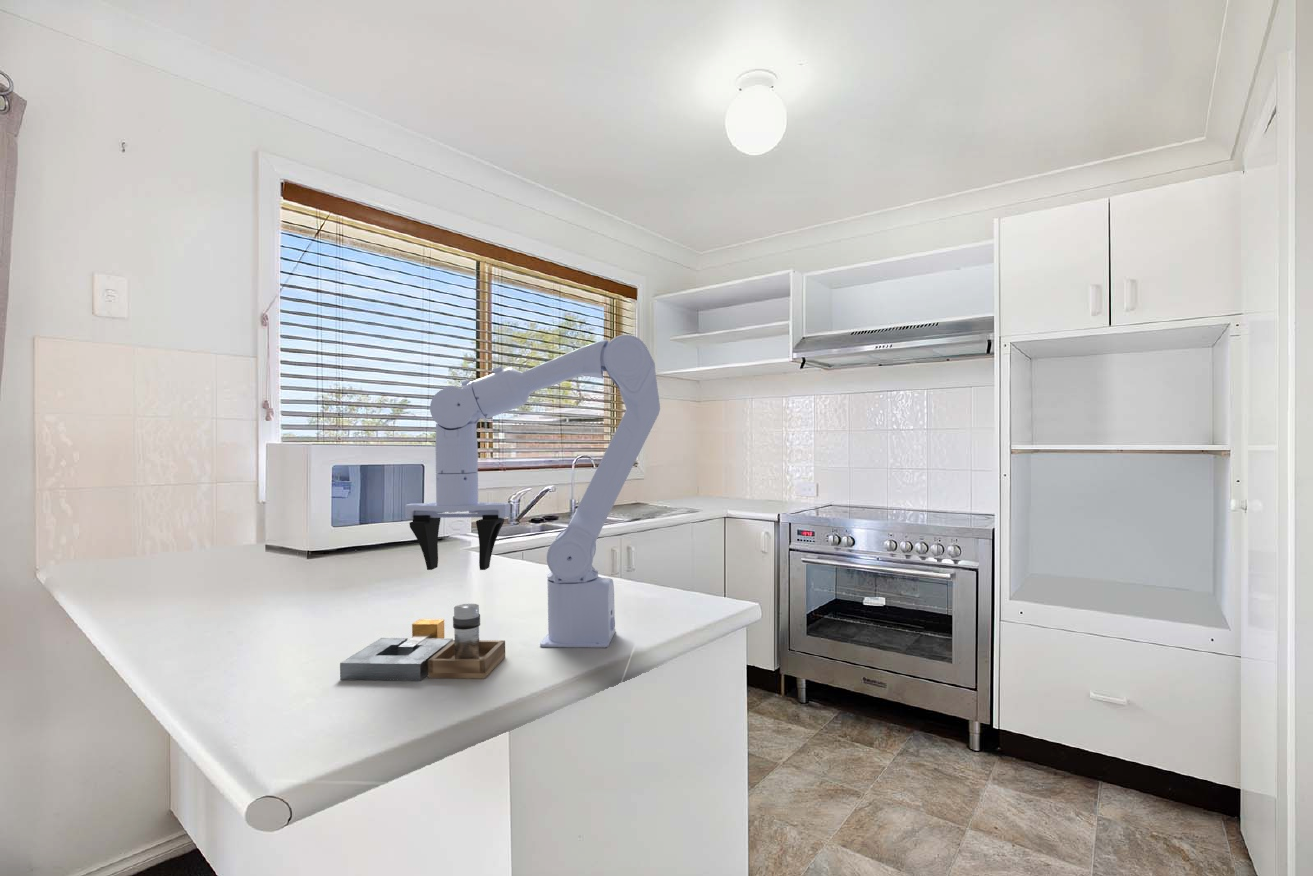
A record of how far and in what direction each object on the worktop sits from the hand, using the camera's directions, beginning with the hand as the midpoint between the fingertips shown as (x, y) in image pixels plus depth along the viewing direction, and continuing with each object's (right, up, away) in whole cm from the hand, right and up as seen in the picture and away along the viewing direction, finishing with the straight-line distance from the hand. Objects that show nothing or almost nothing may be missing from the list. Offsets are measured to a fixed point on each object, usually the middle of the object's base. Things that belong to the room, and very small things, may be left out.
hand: (458, 568), depth 94 cm
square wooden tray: (+4, -10, -10) cm, 15 cm away
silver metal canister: (+4, -10, -10) cm, 15 cm away
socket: (-5, -11, -10) cm, 15 cm away
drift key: (-4, -11, -4) cm, 12 cm away
